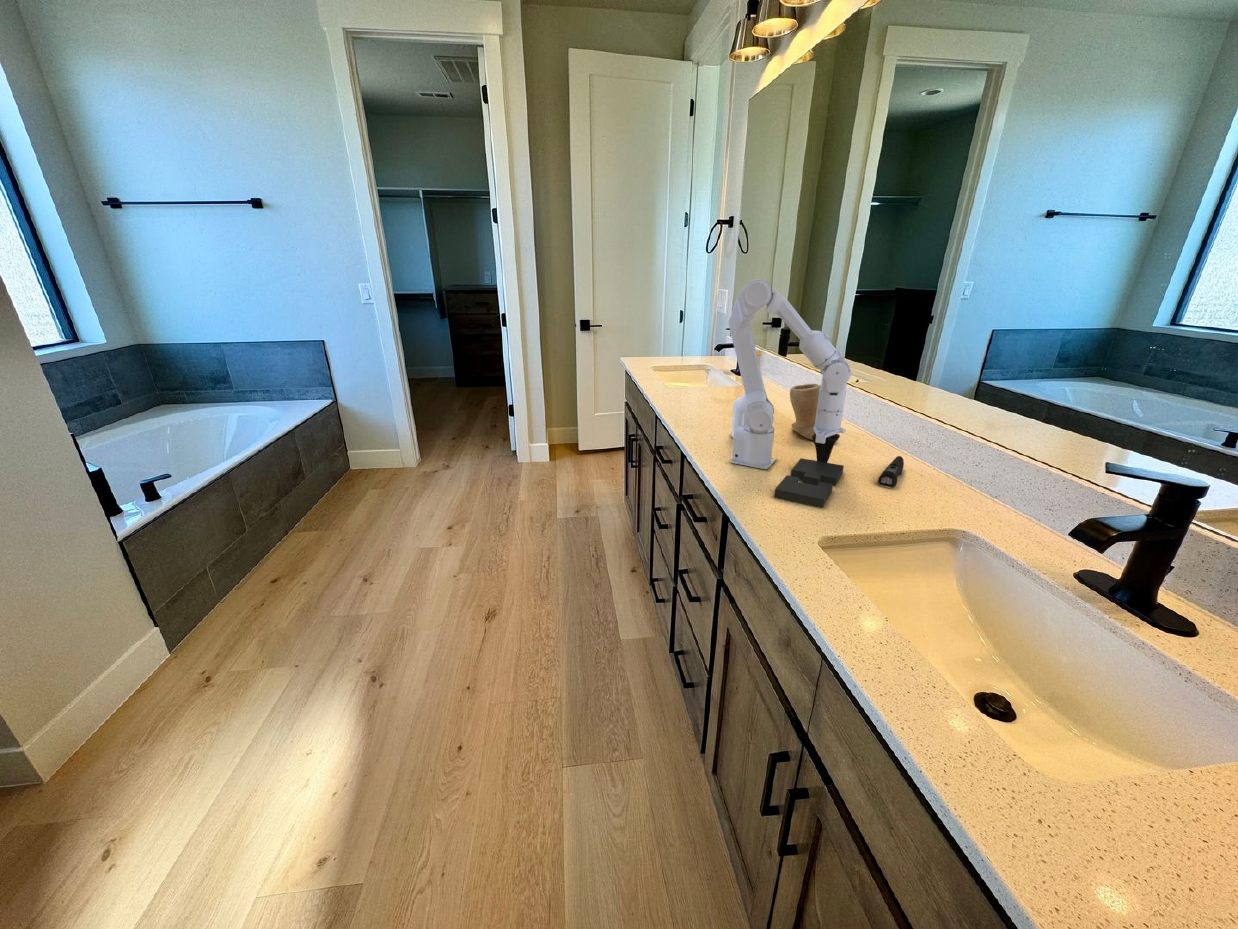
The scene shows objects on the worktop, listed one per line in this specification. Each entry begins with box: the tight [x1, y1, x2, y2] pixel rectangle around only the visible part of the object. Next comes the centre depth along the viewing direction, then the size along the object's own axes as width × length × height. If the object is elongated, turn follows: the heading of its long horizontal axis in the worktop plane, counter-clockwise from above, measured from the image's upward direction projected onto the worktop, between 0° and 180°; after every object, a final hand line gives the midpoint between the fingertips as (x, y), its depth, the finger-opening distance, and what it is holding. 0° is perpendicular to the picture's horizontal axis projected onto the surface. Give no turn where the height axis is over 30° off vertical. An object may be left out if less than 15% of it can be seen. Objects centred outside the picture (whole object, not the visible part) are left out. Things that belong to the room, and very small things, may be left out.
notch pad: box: [773, 475, 834, 509], centre depth 106 cm, size 10×9×2 cm
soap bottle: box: [730, 351, 762, 438], centre depth 140 cm, size 9×9×25 cm
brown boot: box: [789, 383, 821, 441], centre depth 143 cm, size 15×12×15 cm
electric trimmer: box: [877, 455, 905, 489], centre depth 115 cm, size 4×16×3 cm, turn 143°
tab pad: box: [790, 457, 844, 487], centre depth 116 cm, size 10×11×2 cm
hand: (822, 463), depth 121 cm, fingers closed
